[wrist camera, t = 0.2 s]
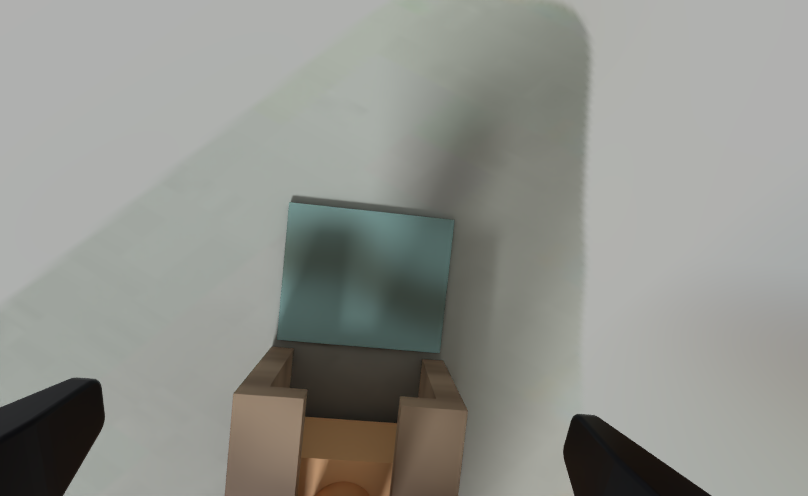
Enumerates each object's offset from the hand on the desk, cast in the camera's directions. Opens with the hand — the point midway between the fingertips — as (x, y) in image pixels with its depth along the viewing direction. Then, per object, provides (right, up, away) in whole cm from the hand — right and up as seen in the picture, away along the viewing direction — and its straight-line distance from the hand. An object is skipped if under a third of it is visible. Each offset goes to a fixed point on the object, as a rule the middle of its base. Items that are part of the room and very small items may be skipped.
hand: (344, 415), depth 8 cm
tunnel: (-2, -8, +16) cm, 18 cm away
